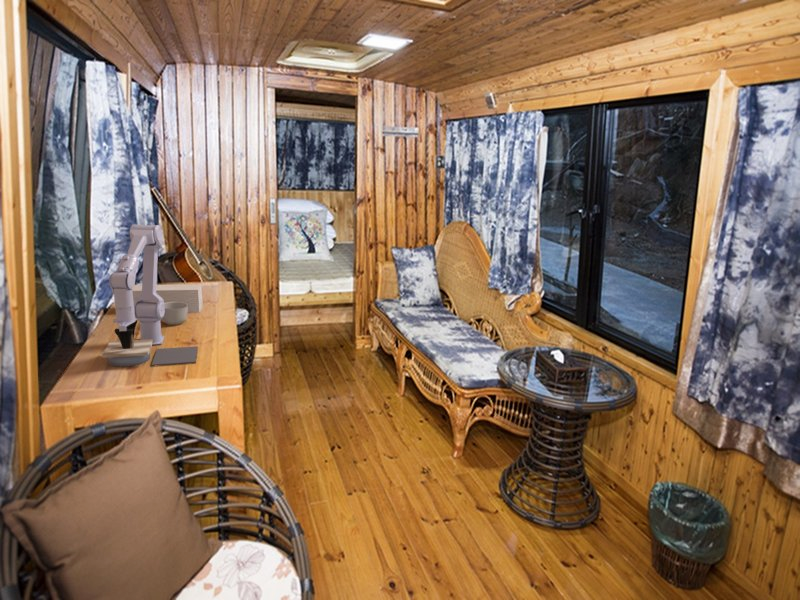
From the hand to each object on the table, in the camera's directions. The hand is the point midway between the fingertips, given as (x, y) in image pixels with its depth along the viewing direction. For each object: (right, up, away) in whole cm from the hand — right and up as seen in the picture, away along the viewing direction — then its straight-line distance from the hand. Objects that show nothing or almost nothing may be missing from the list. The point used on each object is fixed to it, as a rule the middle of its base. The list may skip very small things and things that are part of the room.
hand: (128, 344), depth 196 cm
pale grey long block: (-13, +11, +61) cm, 63 cm away
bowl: (0, -5, +1) cm, 5 cm away
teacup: (-2, +5, +42) cm, 43 cm away
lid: (0, -2, 0) cm, 2 cm away
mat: (+14, -5, +6) cm, 16 cm away
